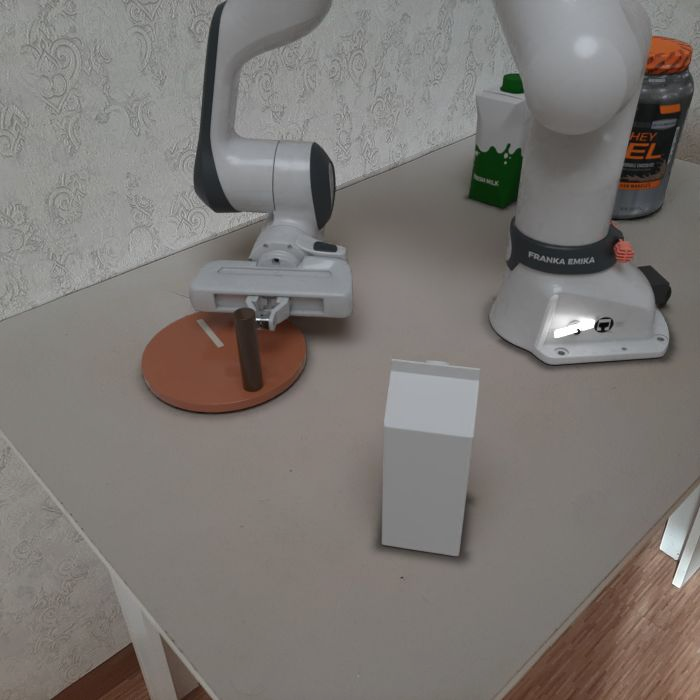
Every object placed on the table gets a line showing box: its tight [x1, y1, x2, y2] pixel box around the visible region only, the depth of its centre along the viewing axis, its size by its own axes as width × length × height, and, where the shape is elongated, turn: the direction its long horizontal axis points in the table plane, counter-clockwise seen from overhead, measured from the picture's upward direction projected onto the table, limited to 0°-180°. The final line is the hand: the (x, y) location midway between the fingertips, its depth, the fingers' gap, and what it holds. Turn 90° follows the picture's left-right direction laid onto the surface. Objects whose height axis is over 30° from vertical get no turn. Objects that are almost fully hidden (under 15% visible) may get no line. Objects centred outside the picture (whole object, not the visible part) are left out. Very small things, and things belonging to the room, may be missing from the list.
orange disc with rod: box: [140, 307, 307, 413], centre depth 85 cm, size 20×20×11 cm
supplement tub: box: [611, 34, 695, 220], centre depth 116 cm, size 16×16×26 cm
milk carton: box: [381, 358, 482, 557], centre depth 62 cm, size 7×7×19 cm
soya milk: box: [468, 72, 533, 209], centre depth 120 cm, size 9×9×20 cm
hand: (261, 326), depth 83 cm, fingers closed
